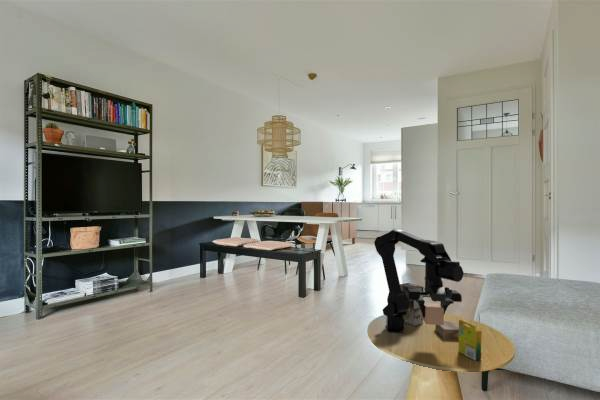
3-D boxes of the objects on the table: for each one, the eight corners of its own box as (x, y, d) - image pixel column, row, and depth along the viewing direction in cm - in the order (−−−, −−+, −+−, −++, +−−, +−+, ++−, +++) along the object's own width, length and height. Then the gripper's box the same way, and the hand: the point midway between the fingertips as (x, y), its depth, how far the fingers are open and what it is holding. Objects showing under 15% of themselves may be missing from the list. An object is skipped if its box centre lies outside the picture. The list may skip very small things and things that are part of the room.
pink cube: (426, 324, 123) (426, 307, 123) (422, 318, 129) (422, 302, 129) (443, 325, 122) (443, 308, 122) (438, 319, 128) (438, 303, 128)
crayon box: (481, 359, 116) (482, 325, 116) (475, 361, 115) (475, 326, 115) (464, 350, 123) (464, 318, 123) (457, 351, 122) (458, 319, 122)
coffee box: (423, 323, 150) (424, 286, 150) (413, 325, 146) (414, 288, 146) (407, 317, 157) (408, 282, 157) (397, 319, 154) (398, 283, 154)
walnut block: (443, 339, 133) (444, 329, 133) (435, 330, 142) (435, 321, 142) (467, 340, 133) (467, 329, 133) (457, 331, 142) (457, 321, 142)
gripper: (412, 280, 119) (411, 324, 119) (468, 282, 117) (467, 327, 117) (405, 273, 130) (405, 314, 130) (456, 275, 128) (455, 316, 128)
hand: (432, 318), depth 126 cm, fingers closed on pink cube, 6 cm apart
